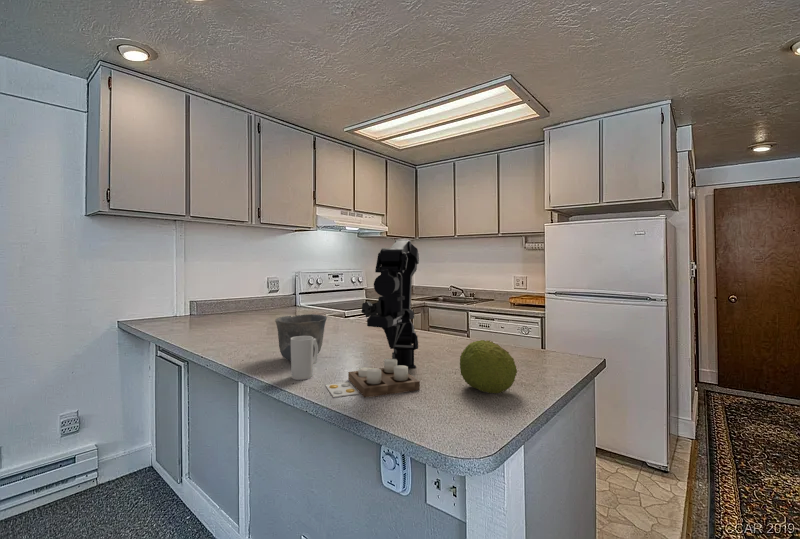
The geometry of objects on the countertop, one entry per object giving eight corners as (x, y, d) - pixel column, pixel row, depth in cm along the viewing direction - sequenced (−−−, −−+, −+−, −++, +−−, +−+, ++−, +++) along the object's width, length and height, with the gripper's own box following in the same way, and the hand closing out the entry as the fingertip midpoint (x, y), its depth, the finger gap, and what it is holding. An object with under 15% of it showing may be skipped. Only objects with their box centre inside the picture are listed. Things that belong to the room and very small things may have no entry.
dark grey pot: (289, 352, 151) (288, 313, 150) (333, 354, 148) (333, 314, 148) (267, 365, 133) (266, 321, 132) (317, 367, 131) (317, 322, 130)
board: (397, 373, 124) (397, 366, 124) (419, 389, 109) (419, 381, 109) (348, 379, 118) (348, 371, 118) (364, 397, 103) (364, 388, 103)
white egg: (369, 377, 118) (369, 367, 118) (373, 381, 114) (373, 370, 114) (356, 379, 117) (356, 368, 116) (360, 383, 113) (360, 372, 113)
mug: (301, 381, 116) (301, 341, 115) (286, 377, 119) (285, 338, 119) (325, 373, 124) (325, 335, 124) (310, 369, 128) (310, 333, 127)
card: (349, 383, 115) (349, 381, 115) (359, 394, 105) (359, 392, 105) (325, 386, 112) (325, 384, 112) (333, 397, 103) (333, 395, 103)
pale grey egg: (394, 368, 121) (394, 358, 121) (399, 371, 117) (399, 361, 117) (382, 369, 120) (382, 359, 119) (386, 373, 116) (386, 362, 116)
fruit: (526, 388, 110) (529, 348, 103) (492, 417, 103) (492, 376, 96) (482, 359, 122) (482, 320, 114) (449, 383, 115) (446, 344, 107)
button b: (404, 375, 114) (404, 364, 114) (410, 379, 110) (410, 368, 110) (391, 377, 112) (391, 366, 112) (396, 381, 108) (397, 369, 108)
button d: (378, 378, 111) (378, 367, 111) (383, 383, 107) (383, 371, 107) (364, 380, 109) (364, 369, 109) (369, 384, 105) (369, 373, 105)
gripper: (382, 289, 123) (382, 338, 123) (350, 294, 106) (350, 351, 107) (414, 290, 118) (414, 342, 119) (386, 296, 101) (386, 356, 102)
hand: (391, 347), depth 112 cm, fingers closed
